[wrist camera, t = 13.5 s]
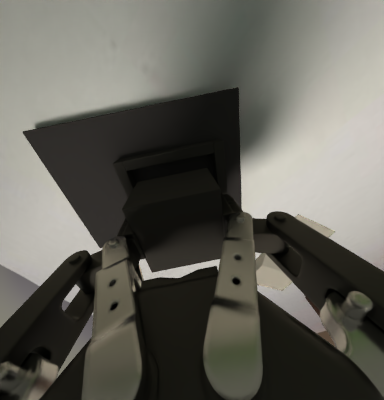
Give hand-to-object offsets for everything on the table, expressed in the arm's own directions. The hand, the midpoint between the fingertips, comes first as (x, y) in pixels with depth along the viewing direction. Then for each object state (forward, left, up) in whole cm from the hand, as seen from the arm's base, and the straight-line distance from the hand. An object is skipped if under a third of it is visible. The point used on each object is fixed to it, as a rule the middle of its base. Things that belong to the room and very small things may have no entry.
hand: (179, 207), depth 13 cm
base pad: (-2, +2, -3) cm, 4 cm away
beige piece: (+13, -13, -4) cm, 19 cm away
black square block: (0, 0, -1) cm, 1 cm away
